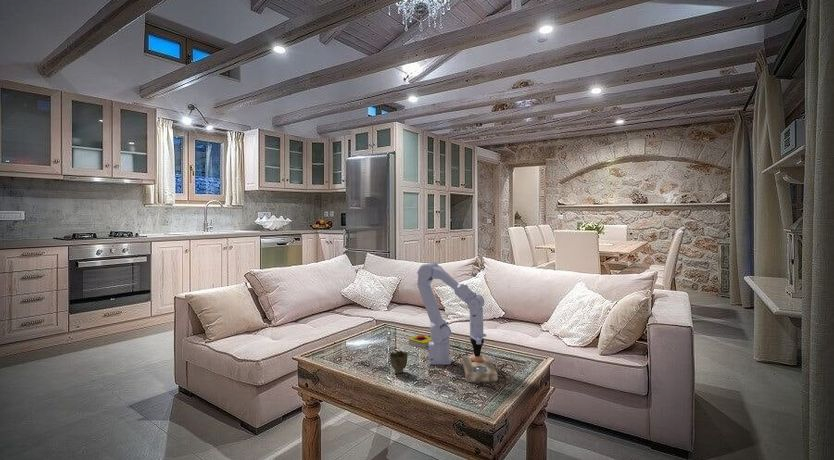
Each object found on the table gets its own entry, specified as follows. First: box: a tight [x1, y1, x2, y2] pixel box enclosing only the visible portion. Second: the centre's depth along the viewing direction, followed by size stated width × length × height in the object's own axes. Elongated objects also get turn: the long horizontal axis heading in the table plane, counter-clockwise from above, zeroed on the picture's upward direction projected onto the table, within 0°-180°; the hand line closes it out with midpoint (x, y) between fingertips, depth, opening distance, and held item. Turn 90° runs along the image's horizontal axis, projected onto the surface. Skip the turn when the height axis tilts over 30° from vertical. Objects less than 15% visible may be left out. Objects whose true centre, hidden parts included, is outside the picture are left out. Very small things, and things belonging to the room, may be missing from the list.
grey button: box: [475, 366, 486, 372], centre depth 159 cm, size 4×4×3 cm
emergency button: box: [406, 334, 432, 350], centre depth 202 cm, size 9×4×15 cm
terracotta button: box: [471, 353, 483, 362], centre depth 169 cm, size 4×4×3 cm
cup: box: [389, 350, 408, 374], centre depth 165 cm, size 8×7×8 cm
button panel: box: [461, 355, 499, 383], centre depth 164 cm, size 12×20×3 cm, turn 178°
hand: (477, 355), depth 169 cm, fingers closed, pressing on terracotta button
